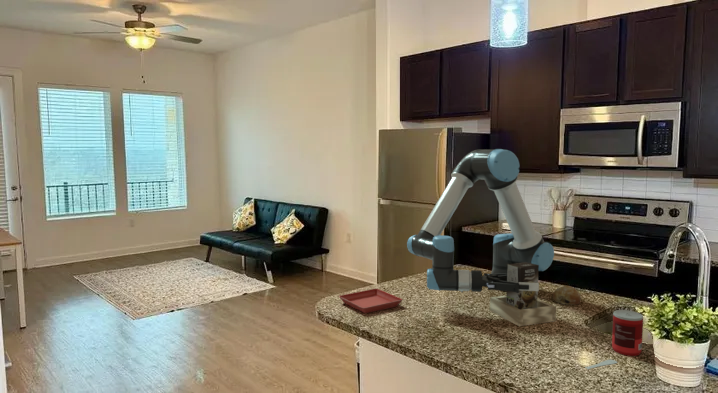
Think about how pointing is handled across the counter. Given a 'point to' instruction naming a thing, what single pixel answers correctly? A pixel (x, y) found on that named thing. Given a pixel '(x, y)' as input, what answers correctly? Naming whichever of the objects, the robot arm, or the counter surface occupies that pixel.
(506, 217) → the robot arm
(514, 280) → the coffee box
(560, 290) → the bread roll
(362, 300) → the plant saucer
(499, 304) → the wooden tray
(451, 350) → the counter surface
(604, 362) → the butter knife
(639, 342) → the canned food
